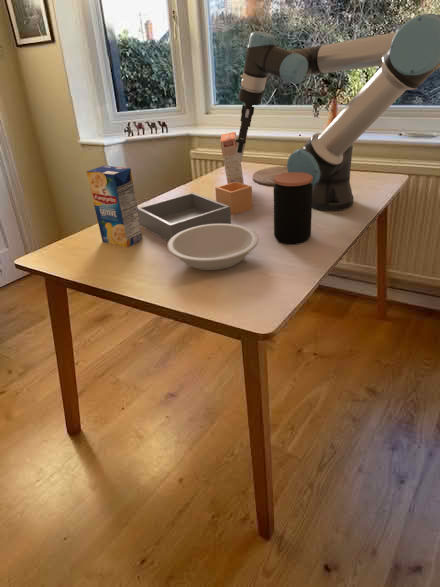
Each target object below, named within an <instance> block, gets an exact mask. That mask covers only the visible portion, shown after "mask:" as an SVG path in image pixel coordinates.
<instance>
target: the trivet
mask: <svg viewBox="0 0 440 587" xmlns="http://www.w3.org/2000/svg"><path fill="white" fill-rule="evenodd" d="M287 170H288V168H287V165H285V166H282V165H281V166H273V167H266V168H263V169H259V170H258V171H257V170H256V171H255V172H254V173H253V174H252V181H253V183H255V184H258V185H261V186H265V187H274V185H275V182H274V177H275V176H276V175H279V174H282V173H288V171H287Z"/></svg>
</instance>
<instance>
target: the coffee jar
mask: <svg viewBox="0 0 440 587" xmlns="http://www.w3.org/2000/svg"><path fill="white" fill-rule="evenodd" d="M312 180H313V176H312V175H310V174H308V173H302V172H288V173H282V174H279V175H276V176H275V177H274V182H275V185H274V186H273V235H274V238H275V239H276V240H277V241H278V242H279V243H281V244H284V245H300V244H303V243H305V242H308V240H309V239H310V237H311V235H312V217H313V216H312V214H313V212H312V211H313V208H312V189H313V186H312V184H311V182H312Z"/></svg>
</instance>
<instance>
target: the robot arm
mask: <svg viewBox="0 0 440 587" xmlns="http://www.w3.org/2000/svg"><path fill="white" fill-rule="evenodd" d="M375 67H380V68H378V69H377V71H376V72H375V73H374V74H373V75H372V76H371V78H369V79H368V81H367V82H366V83H365V84H364V85H363V87H361V88H360V90H359V91H358V92H357V93H356V94H355V95H354V96H353V97H352V99H351V100H349V102H348V103H347V104H346V105H345V107H344V108H343V109H342V110H341V111H340V112H339V113H338V114H337V115H336V116H335V118H333V120H332V121H331V122H330V123H329V124H328V125H327V127H326V128H325V129H324V130H322V132H315V133H314V134H313V135H312V136H311V137H310V138H309V139H307V141H306V142H305V143H304V145H303V146H302V147H301V148H298V149H295V150H294V151H293V152H291V154H290V155H289V156H288V158H287V161H286V162H287V163H286V166H287V168H288V170H287V171H288V172H302V173H308V174H310V175H312V176H313V180H312V182H311V184H312V186H313V189H312V209H316V210H318V211H330V212H331V211H334V212H335V211H342V210H346V209H349V208H351V207H352V206H353V205H354V198H355V197H354V194H353V190H352V186H351V182H350V181H351V168H352V160H353V158H352V157H353V149H354V146H353V144H354V143H355V142H356V141H357V140H358V139H359V138H360V137H361V135H363V134H364V133H365V131H367V130H368V129H369V128H370V127H371V126H372V125H373V124H375V122H376V121H377V120H378V119H379V118H380V117H381V116H382V115H383V114H384V113H385V112H386V111H387V110H388V109H389V108H390V107H391V106H392V105H393V104H394V103H395V102H396V101H397V100H398V99H399V98H400V97H401V96H402V95H403V94H404V93H405V92H406V91H411V90H417V88H419V86H421V85H422V83H423V82H425V81H426V79H427V78H428V77H430V76H431V75H432V74H433V73H434V72H436V70H437V69H440V13H439V14H435V13H424V14H421V15H420V14H419V15H417V16H415V17H413V18H411V19H409V20H407V21H406V22H405V23H404V24H402V25H401V27H400V28H399V29H398V30H397V31H396V32H391V33H390V32H389V33H384V34H379V35H373V36H368V37H363V38H357V39H351V40H346V41H341V42H339V41H338V42H334V43H330V44H322V45H317V46H311V47H304V48H295V49H286V48H282V47H281V46H280V47H279V46H277V45H276V37H275V35H273V34H272V33H270V32H267V31H266V32H265V31H261V30H258V31H257V30H256V31H253V32H251V33H250V36H249V39H248V44H247V46H246V53H245V61H244V66H243V72H242V74H240V76H239V77H240V78H241V82H240V87H239V92H238V97H237V98H238V100H239V101H240V102H241V103H244V104H242V105H241V106H242V107H241V110H240V112H241V113H240V114H241V116H240V126H239V127H240V128H239V132H238V136H237V139H236V141H235V142H237V146H236V151H235V156H234V160H235V161H240V162H241V163H242V162H243V156H244V152H245V148H246V147H245V146H246V144H247V137H248V136H247V135H248V130H249V128H250V127H251V122H252V119H253V116H254V113H255V112H254V111H255V107H254V106H257V105H261V103H262V101H263V96H264V90H265V87H266V83H267V78H268V75H270V76H272V77H275V78H277V79H279V80H282V81H283V82H285V83H290V84H293V85H296V84H299V83H301V81H302V80H304V78H305V77H306V76H312V75H320V74H325V73H326V74H327V73H336V72H343V71H352V70H358V69H366V68H375Z"/></svg>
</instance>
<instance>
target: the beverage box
mask: <svg viewBox="0 0 440 587" xmlns="http://www.w3.org/2000/svg"><path fill="white" fill-rule="evenodd" d="M86 174H87V179H88V183H89V184H88V185H89V188H90V189H89V190H90V192H91V199H92V201H93V205H94V211H95V215H96V219H97V220H96V221H97V224H98V228H99V232H100V233H99V234H100V236H101V241H102V243H106V244H111V245H115V246H118V247H124V248H127V249H128V248H130V247H132V246H134V245H136V244H137V243H139V242H141V241H142V240H144V237H143V232H142V228H141V227H142V226H141V225H140V220H139V214H138V208H139V207H138V203H137V197H136V190H135V188H134V187H135V185H134V181H133V175H132V168H130V167H122V166H121V167H120V166H111V165H102V166H99V167H95V168H93V169H90V170H86Z"/></svg>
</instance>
